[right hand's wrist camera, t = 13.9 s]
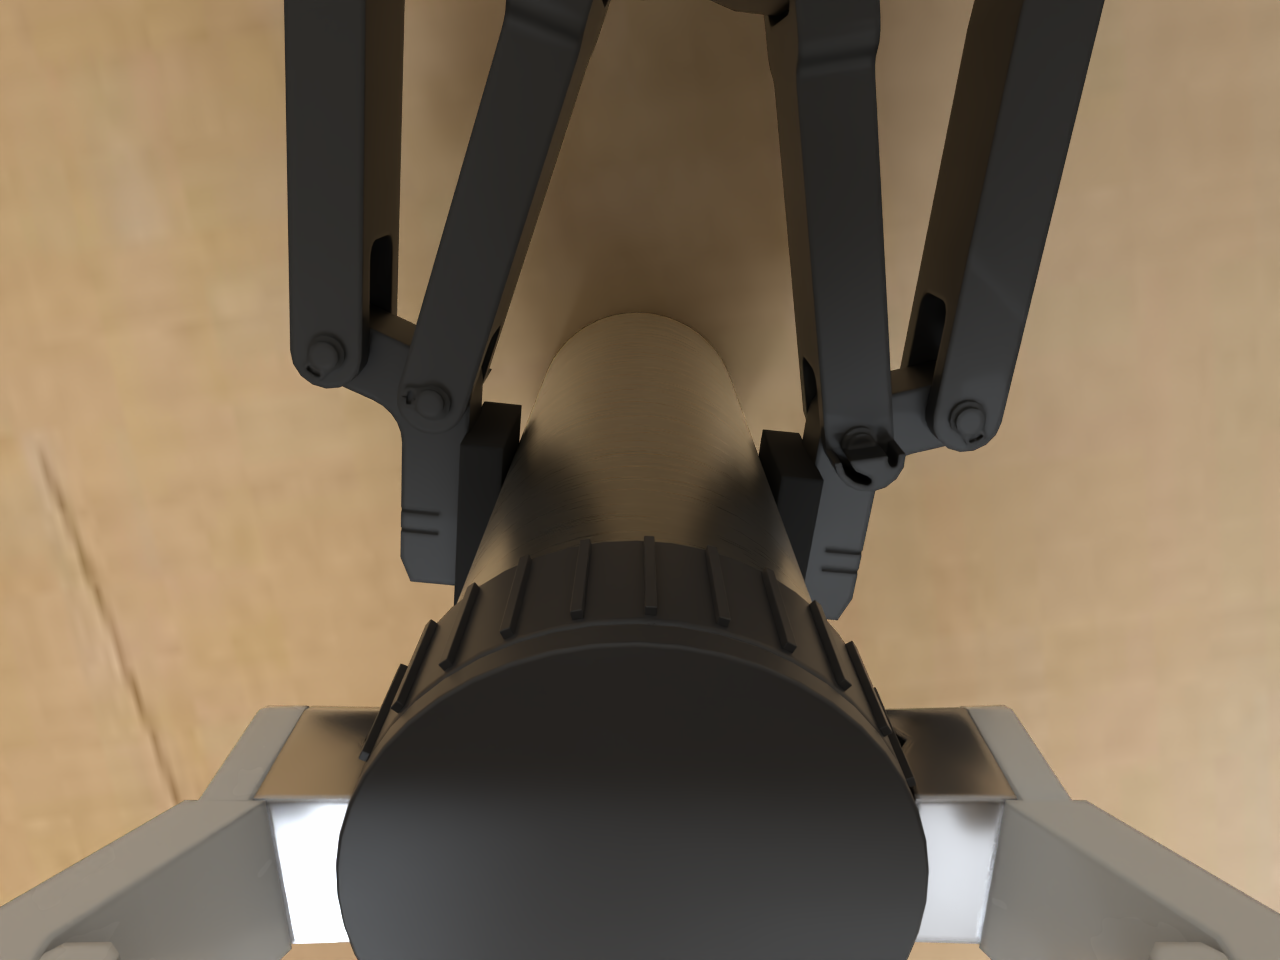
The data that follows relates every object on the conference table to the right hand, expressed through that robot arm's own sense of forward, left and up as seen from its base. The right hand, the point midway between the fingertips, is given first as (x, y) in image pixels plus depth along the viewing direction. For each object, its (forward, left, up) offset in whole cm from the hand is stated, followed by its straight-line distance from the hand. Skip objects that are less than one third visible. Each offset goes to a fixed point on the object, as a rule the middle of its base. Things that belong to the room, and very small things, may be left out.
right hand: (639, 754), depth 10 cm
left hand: (-4, -4, -8) cm, 9 cm away
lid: (0, 0, +2) cm, 2 cm away
